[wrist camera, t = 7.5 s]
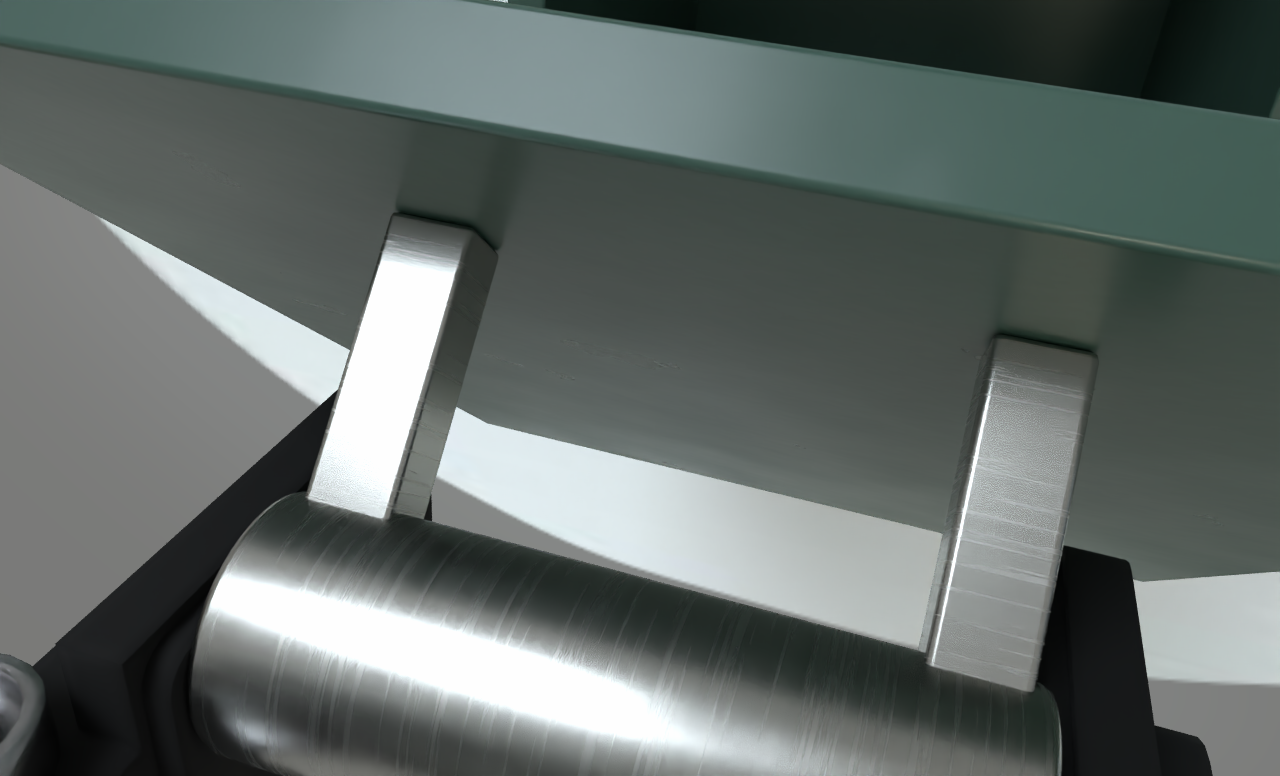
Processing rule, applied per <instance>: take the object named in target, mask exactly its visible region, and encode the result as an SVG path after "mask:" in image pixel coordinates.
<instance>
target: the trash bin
mask: <svg viewBox="0 0 1280 776" xmlns="http://www.w3.org/2000/svg"><path fill="white" fill-rule="evenodd" d="M508 3H512V4H518V5H525V6H532V7H538V8H545V9H551V10H558V11H565V12H571V13H578V14H584V15H591V16H598V17H604V18H611V19H617V20H624V21H631V22H637V23H644V24H650V25H657V26H664V27H670V28H677V29H683V30H690V31H697V32H703V33H710V34H716V35H723V36H730V37H736V38H743V39H749V40H756V41H763V42H769V43H776V44H782V45H789V46H796V47H802V48H809V49H815V50H822V51H829V52H835V53H842V54H848V55H855V56H862V57H868V58H875V59H882V60H888V61H895V62H901V63H908V64H915V65H921V66H928V67H934V68H941V69H948V70H954V71H961V72H967V73H974V74H981V75H987V76H994V77H1000V78H1007V79H1014V80H1020V81H1027V82H1033V83H1040V84H1047V85H1053V86H1060V87H1066V88H1073V89H1080V90H1086V91H1093V92H1099V93H1106V94H1113V95H1119V96H1126V97H1132V98H1139V99H1146V100H1152V101H1159V102H1165V103H1172V104H1179V105H1185V106H1192V107H1198V108H1205V109H1212V110H1218V111H1225V112H1231V113H1238V114H1245V115H1251V116H1258V117H1265V118H1271V119H1278V120H1280V0H508Z"/></svg>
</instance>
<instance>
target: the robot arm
mask: <svg viewBox="0 0 1280 776" xmlns="http://www.w3.org/2000/svg"><path fill="white" fill-rule="evenodd" d="M337 391H338V390H337ZM337 391H336V392H335V393H333V394H332V395H331V396H330V397H329V398H328V399H327V400H326V401H325V402H323V403H322V404H321V405H320V406H319V407H318V408H317V409H316V410H315V411H313V412H312V413H311V414H310V415H309V416H308V417H307V418H306V419H305V420H303V421H302V422H301V423H300V424H299V425H298V426H297V427H296V428H295V429H293V430H292V431H291V432H290V433H289V434H288V435H287V436H286V437H285V438H283V439H282V440H281V441H280V442H279V443H278V444H277V445H276V446H275V447H273V448H272V449H271V450H270V451H269V452H268V453H267V454H266V455H265V456H263V457H262V458H261V459H260V460H259V461H258V462H257V463H256V464H255V465H253V466H252V467H251V468H250V469H249V470H248V471H247V472H246V473H245V474H244V475H242V476H241V477H240V478H239V479H238V480H237V481H236V482H235V483H233V484H232V485H231V486H230V487H229V488H228V489H227V490H226V491H225V492H223V493H222V494H221V495H220V496H219V497H218V498H217V499H216V500H215V501H213V502H212V503H211V504H210V505H209V506H208V507H207V508H206V509H205V510H203V511H202V512H201V513H200V514H199V515H198V516H197V517H196V518H195V519H193V520H192V521H191V522H190V523H189V524H188V525H187V526H186V527H185V528H183V529H182V530H181V531H180V532H179V533H178V534H177V535H176V536H175V537H174V538H172V539H171V540H170V541H169V542H168V543H167V544H166V545H165V546H163V547H162V548H161V549H160V550H159V551H158V552H157V553H156V554H155V555H153V556H152V557H151V558H150V559H149V560H148V561H147V562H146V563H145V564H143V566H141V567H140V568H139V569H138V570H137V571H136V572H135V573H133V574H132V575H131V576H130V577H129V578H128V579H127V580H126V581H125V582H124V583H122V584H121V585H120V586H119V587H118V588H117V589H116V590H115V591H114V592H112V593H111V594H110V595H109V596H108V597H107V598H106V599H105V600H103V601H102V602H101V603H100V604H99V605H98V606H97V607H96V608H95V609H93V611H91V612H90V613H89V614H88V615H87V616H86V617H85V618H84V619H82V620H81V621H80V622H79V623H78V624H77V625H76V626H75V627H73V628H72V629H71V630H70V631H69V632H68V633H67V634H66V635H65V636H64V637H62V638H61V639H60V640H59V641H58V642H57V643H56V646H55V647H54V648H52V649H51V650H50V651H49V652H48V653H47V654H46V655H45V656H44V657H43V658H41V659H40V660H39V661H38V662H37V663H36V664H35V665H34V666H31V665H30V664H28V663H25V662H23V661H21V660H19V659H17V658H15V657H13V656H11V655H7V654H0V776H281V775H278V774H275V773H272V772H269V771H266V770H263V769H260V768H257V767H254V766H251V765H248V764H245V763H242V762H239V761H236V760H233V759H230V758H227V757H224V756H221V755H219V754H216V753H214V752H212V751H211V750H210V749H209V748H208V747H207V746H205V744H204V743H203V742H202V741H201V740H200V739H199V737H198V736H197V734H196V733H195V731H194V728H193V726H192V723H191V721H190V716H189V711H188V704H187V673H188V664H189V657H190V652H191V647H192V642H193V638H194V634H195V631H196V627H197V623H198V620H199V617H200V614H201V611H202V609H203V606H204V603H205V600H206V598H207V596H208V593H209V591H210V589H211V586H212V584H213V582H214V580H215V578H216V576H217V574H218V572H219V570H220V568H221V566H222V564H223V563H224V561H225V559H226V558H227V556H228V554H229V553H230V551H231V549H232V548H233V547H234V545H235V544H236V542H237V541H238V539H239V538H240V537H241V535H242V534H243V533H244V532H245V530H246V529H247V528H248V527H249V526H250V524H251V523H252V522H253V521H254V520H255V519H256V518H257V517H258V516H259V515H260V514H261V513H262V512H263V511H264V510H266V509H267V508H268V507H269V506H271V505H272V504H273V503H275V502H276V501H278V500H280V499H281V498H283V497H285V496H288V495H290V494H293V493H298V492H304V491H307V490H308V486H309V483H310V480H311V477H312V473H313V470H314V467H315V464H316V460H317V457H318V454H319V450H320V447H321V444H322V441H323V437H324V434H325V431H326V427H327V424H328V421H329V418H330V414H331V411H332V408H333V405H334V401H335V398H336V395H337ZM424 520H428V521H432V502H431V496H430V499H429V503H428V506H427V510H426V513H425V517H424ZM1037 682H1038V683H1041V684H1042V685H1043V686H1045V687H1046V688H1047V689H1049V690H1050V691H1051V692H1052V693H1053V695H1054V697H1055V700H1056V703H1057V706H1058V712H1059V717H1060V723H1061V731H1062V746H1063V774H1062V776H1213V775H1212V770H1211V765H1210V761H1209V758H1208V754H1207V751H1206V748H1205V745H1204V744H1203V743H1202V742H1201V740H1200V739H1199V738H1198V737H1195V736H1192V735H1188V734H1185V733H1181V732H1177V731H1173V730H1170V729H1166V728H1162V727H1159V726H1155V725H1154V720H1153V713H1152V706H1151V699H1150V692H1149V686H1148V679H1147V672H1146V665H1145V658H1144V651H1143V644H1142V637H1141V631H1140V624H1139V617H1138V610H1137V603H1136V596H1135V589H1134V582H1133V576H1132V570H1131V566H1130V563H1129V562H1128V561H1127V560H1125V559H1120V558H1116V557H1112V556H1108V555H1104V554H1099V553H1095V552H1091V551H1087V550H1083V549H1078V548H1074V547H1070V546H1066V545H1063V550H1062V556H1061V561H1060V566H1059V571H1058V576H1057V581H1056V586H1055V591H1054V597H1053V602H1052V607H1051V612H1050V617H1049V622H1048V627H1047V632H1046V637H1045V643H1044V648H1043V653H1042V658H1041V663H1040V668H1039V673H1038V678H1037Z"/></svg>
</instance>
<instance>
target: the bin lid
mask: <svg viewBox="0 0 1280 776" xmlns="http://www.w3.org/2000/svg"><path fill="white" fill-rule="evenodd" d="M0 164H1V165H3V166H5V167H7V168H9V169H11V170H13V171H14V172H16V173H18V174H20V175H22V176H24V177H26V178H28V179H29V180H32V181H33V182H35V183H37V184H39V185H41V186H43V187H45V188H46V189H48V190H50V191H52V192H54V193H56V194H58V195H60V196H61V197H63V198H65V199H67V200H69V201H71V202H73V203H75V204H77V205H78V206H80V207H82V208H84V209H86V210H88V211H90V212H91V213H93V214H95V215H97V216H99V217H101V218H103V219H105V220H107V221H108V222H110V223H112V224H114V225H116V226H118V227H120V228H122V229H123V230H125V231H127V232H129V233H131V234H133V235H135V236H137V237H138V238H140V239H142V240H144V241H146V242H148V243H150V244H152V245H153V246H155V247H157V248H159V249H161V250H163V251H165V252H167V253H169V254H170V255H172V256H174V257H176V258H178V259H180V260H182V261H184V262H185V263H187V264H189V265H191V266H193V267H195V268H197V269H199V270H200V271H202V272H204V273H206V274H208V275H210V276H212V277H214V278H216V279H217V280H219V281H221V282H223V283H225V284H227V285H229V286H231V287H232V288H234V289H236V290H238V291H240V292H242V293H244V294H246V295H247V296H249V297H251V298H253V299H255V300H257V301H259V302H261V303H262V304H264V305H266V306H268V307H270V308H272V309H274V310H276V311H278V312H279V313H281V314H283V315H285V316H287V317H289V318H291V319H293V320H294V321H296V322H298V323H300V324H302V325H304V326H306V327H308V328H309V329H311V330H313V331H315V332H317V333H319V334H321V335H323V336H324V337H326V338H328V339H330V340H332V341H334V342H336V343H338V344H340V345H341V346H343V347H345V348H347V349H349V350H350V352H349V355H348V359H347V362H346V365H345V368H344V372H343V375H342V378H341V382H340V385H339V388H338V391H337V395H336V398H335V401H334V405H333V408H332V411H331V414H330V418H329V421H328V424H327V427H326V431H325V434H324V437H323V441H322V444H321V447H320V450H319V454H318V457H317V460H316V464H315V467H314V470H313V473H312V477H311V480H310V483H309V486H308V490H307V491H304V492H298V493H293V494H290V495H288V496H285V497H283V498H281V499H280V500H278V501H276V502H275V503H273V504H272V505H271V506H269V507H268V508H267V509H266V510H264V511H263V512H262V513H261V514H260V515H259V516H258V517H257V518H256V519H255V520H254V521H253V522H252V523H251V524H250V526H249V527H248V528H247V529H246V530H245V532H244V533H243V534H242V535H241V537H240V538H239V539H238V541H237V542H236V544H235V545H234V547H233V548H232V549H231V551H230V553H229V554H228V556H227V558H226V559H225V561H224V563H223V564H222V566H221V568H220V570H219V572H218V574H217V576H216V578H215V580H214V582H213V584H212V586H211V589H210V591H209V593H208V596H207V598H206V600H205V603H204V606H203V609H202V611H201V614H200V617H199V620H198V623H197V627H196V631H195V634H194V638H193V642H192V647H191V652H190V657H189V664H188V673H187V704H188V711H189V716H190V721H191V723H192V726H193V728H194V731H195V733H196V734H197V736H198V737H199V739H200V740H201V741H202V742H203V743H204V744H205V746H207V747H208V748H209V749H210V750H211V751H212V752H214V753H216V754H219V755H221V756H224V757H227V758H230V759H233V760H236V761H239V762H242V763H245V764H248V765H251V766H254V767H257V768H260V769H263V770H266V771H269V772H272V773H275V774H278V775H281V776H1062V774H1063V746H1062V731H1061V723H1060V717H1059V712H1058V706H1057V703H1056V700H1055V697H1054V695H1053V693H1052V692H1051V691H1050V690H1049V689H1047V688H1046V687H1045V686H1043V685H1042V684H1041V683H1038V682H1037V678H1038V673H1039V668H1040V663H1041V658H1042V653H1043V648H1044V643H1045V637H1046V632H1047V627H1048V622H1049V617H1050V612H1051V607H1052V602H1053V597H1054V591H1055V586H1056V581H1057V576H1058V571H1059V566H1060V561H1061V556H1062V550H1063V545H1066V546H1070V547H1074V548H1078V549H1083V550H1087V551H1091V552H1095V553H1099V554H1104V555H1108V556H1112V557H1116V558H1120V559H1125V560H1127V561H1128V562H1129V563H1130V566H1131V570H1132V576H1133V579H1134V580H1138V581H1142V582H1144V581H1158V580H1171V579H1185V578H1198V577H1212V576H1225V575H1239V574H1252V573H1266V572H1279V571H1280V120H1278V119H1271V118H1265V117H1258V116H1251V115H1245V114H1238V113H1231V112H1225V111H1218V110H1212V109H1205V108H1198V107H1192V106H1185V105H1179V104H1172V103H1165V102H1159V101H1152V100H1146V99H1139V98H1132V97H1126V96H1119V95H1113V94H1106V93H1099V92H1093V91H1086V90H1080V89H1073V88H1066V87H1060V86H1053V85H1047V84H1040V83H1033V82H1027V81H1020V80H1014V79H1007V78H1000V77H994V76H987V75H981V74H974V73H967V72H961V71H954V70H948V69H941V68H934V67H928V66H921V65H915V64H908V63H901V62H895V61H888V60H882V59H875V58H868V57H862V56H855V55H848V54H842V53H835V52H829V51H822V50H815V49H809V48H802V47H796V46H789V45H782V44H776V43H769V42H763V41H756V40H749V39H743V38H736V37H730V36H723V35H716V34H710V33H703V32H697V31H690V30H683V29H677V28H670V27H664V26H657V25H650V24H644V23H637V22H631V21H624V20H617V19H611V18H604V17H598V16H591V15H584V14H578V13H571V12H565V11H558V10H551V9H545V8H538V7H532V6H525V5H518V4H512V3H505V2H499V1H492V0H0ZM456 407H458V408H460V409H462V410H464V411H465V412H467V413H469V414H471V415H473V416H475V417H477V418H479V419H480V420H482V421H484V422H486V423H488V424H492V425H496V426H500V427H505V428H509V429H513V430H517V431H521V432H525V433H529V434H534V435H538V436H542V437H546V438H550V439H554V440H558V441H563V442H567V443H571V444H575V445H579V446H583V447H587V448H592V449H596V450H600V451H604V452H608V453H612V454H616V455H621V456H625V457H629V458H633V459H637V460H641V461H645V462H649V463H654V464H658V465H662V466H666V467H670V468H674V469H678V470H683V471H687V472H691V473H695V474H699V475H703V476H707V477H712V478H716V479H720V480H724V481H728V482H732V483H736V484H741V485H745V486H749V487H753V488H757V489H761V490H765V491H769V492H774V493H778V494H782V495H786V496H790V497H794V498H798V499H803V500H807V501H811V502H815V503H819V504H823V505H827V506H832V507H836V508H840V509H844V510H848V511H852V512H856V513H861V514H865V515H869V516H873V517H877V518H881V519H885V520H890V521H894V522H898V523H902V524H906V525H910V526H914V527H918V528H923V529H927V530H931V531H935V532H939V533H943V536H942V540H941V545H940V550H939V554H938V559H937V564H936V569H935V573H934V578H933V583H932V587H931V592H930V597H929V601H928V606H927V611H926V616H925V620H924V625H923V630H922V634H921V639H920V644H919V648H918V650H914V649H910V648H906V647H902V646H899V645H894V644H891V643H887V642H884V641H880V640H876V639H872V638H869V637H865V636H861V635H857V634H853V633H850V632H846V631H842V630H838V629H835V628H831V627H827V626H823V625H820V624H816V623H812V622H808V621H805V620H801V619H797V618H793V617H789V616H786V615H782V614H778V613H774V612H771V611H767V610H763V609H759V608H756V607H752V606H748V605H744V604H740V603H736V602H733V601H729V600H726V599H722V598H718V597H714V596H710V595H707V594H703V593H699V592H695V591H692V590H688V589H684V588H680V587H676V586H672V585H669V584H665V583H661V582H658V581H654V580H650V579H647V578H643V577H639V576H635V575H631V574H627V573H624V572H620V571H616V570H613V569H609V568H605V567H601V566H598V565H594V564H590V563H586V562H583V561H579V560H575V559H571V558H567V557H564V556H560V555H556V554H552V553H549V552H545V551H541V550H537V549H534V548H530V547H526V546H522V545H519V544H514V543H511V542H507V541H503V540H499V539H496V538H492V537H488V536H485V535H481V534H477V533H473V532H469V531H465V530H462V529H458V528H455V527H450V526H447V525H443V524H439V523H436V522H432V521H428V520H424V517H425V513H426V510H427V506H428V503H429V499H430V496H431V492H432V489H433V485H434V482H435V478H436V475H437V471H438V468H439V464H440V461H441V457H442V454H443V450H444V447H445V443H446V440H447V436H448V433H449V430H450V426H451V423H452V419H453V416H454V412H455V409H456Z"/></svg>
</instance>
